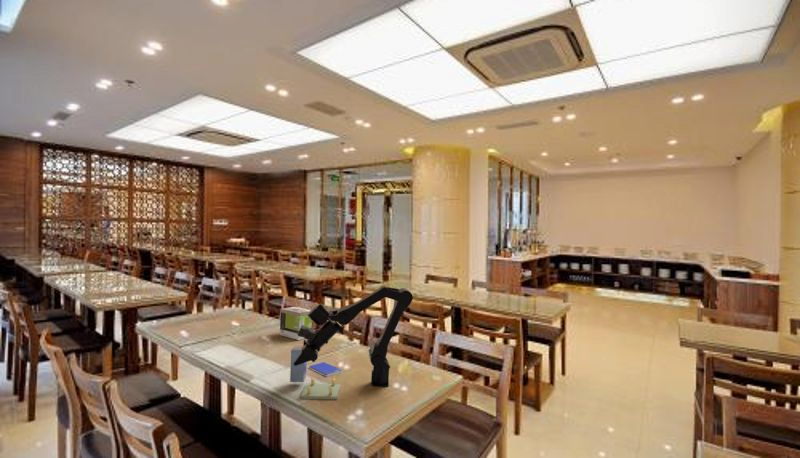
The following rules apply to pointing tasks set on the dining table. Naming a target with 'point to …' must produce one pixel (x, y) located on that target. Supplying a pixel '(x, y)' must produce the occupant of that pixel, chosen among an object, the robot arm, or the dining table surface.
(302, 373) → the block
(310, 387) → the chassis
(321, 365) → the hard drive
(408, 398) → the dining table surface
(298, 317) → the tea box
